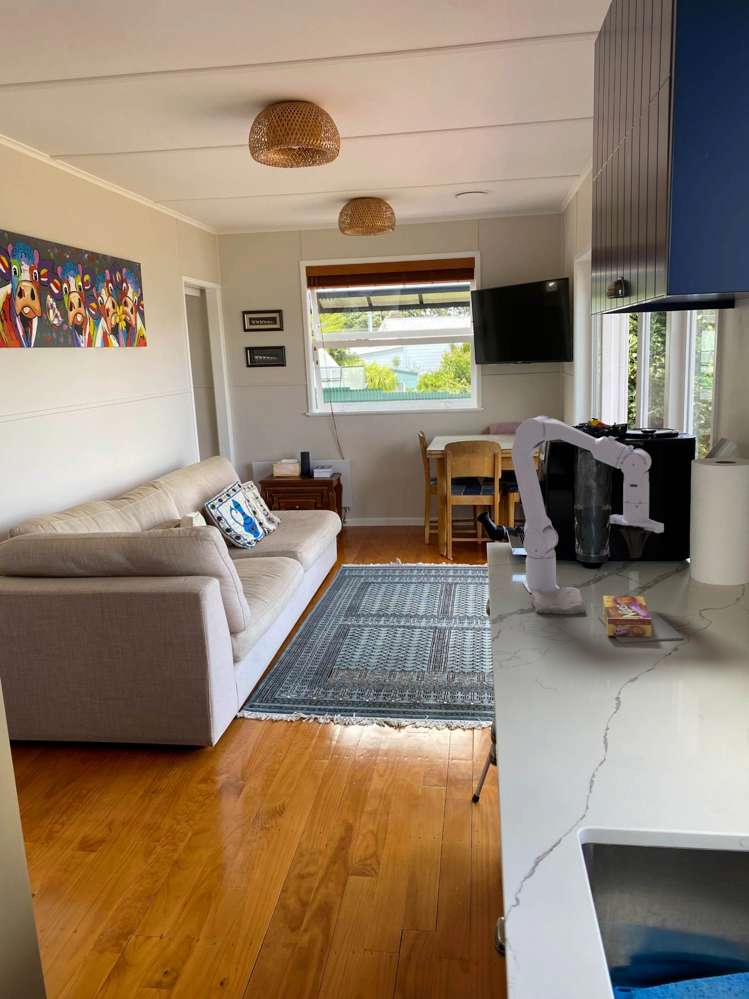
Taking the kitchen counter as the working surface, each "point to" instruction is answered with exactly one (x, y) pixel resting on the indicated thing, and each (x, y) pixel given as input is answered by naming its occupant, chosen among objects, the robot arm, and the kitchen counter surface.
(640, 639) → the mat
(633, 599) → the candy box
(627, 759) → the kitchen counter surface
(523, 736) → the kitchen counter surface
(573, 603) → the stone block
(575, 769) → the kitchen counter surface
